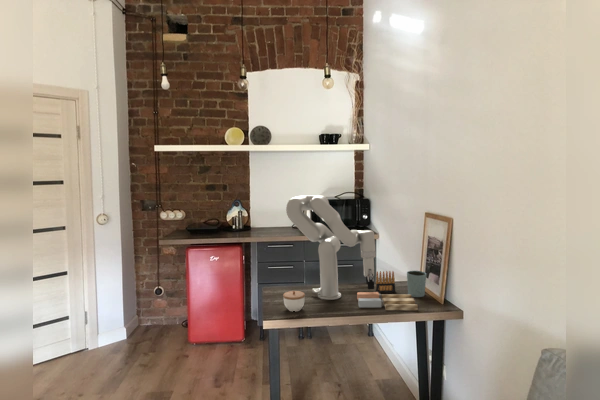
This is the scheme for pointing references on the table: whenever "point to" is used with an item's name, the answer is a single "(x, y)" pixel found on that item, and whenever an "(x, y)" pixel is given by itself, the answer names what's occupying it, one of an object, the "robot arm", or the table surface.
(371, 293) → the tan wooden block
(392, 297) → the comb board
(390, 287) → the ammunition clip
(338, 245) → the robot arm
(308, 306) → the table surface
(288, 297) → the lidded jar
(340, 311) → the table surface
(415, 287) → the green plant pot
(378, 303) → the light grey rectangular bar
